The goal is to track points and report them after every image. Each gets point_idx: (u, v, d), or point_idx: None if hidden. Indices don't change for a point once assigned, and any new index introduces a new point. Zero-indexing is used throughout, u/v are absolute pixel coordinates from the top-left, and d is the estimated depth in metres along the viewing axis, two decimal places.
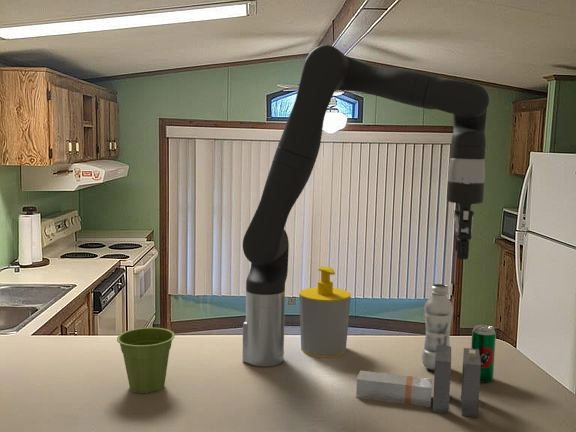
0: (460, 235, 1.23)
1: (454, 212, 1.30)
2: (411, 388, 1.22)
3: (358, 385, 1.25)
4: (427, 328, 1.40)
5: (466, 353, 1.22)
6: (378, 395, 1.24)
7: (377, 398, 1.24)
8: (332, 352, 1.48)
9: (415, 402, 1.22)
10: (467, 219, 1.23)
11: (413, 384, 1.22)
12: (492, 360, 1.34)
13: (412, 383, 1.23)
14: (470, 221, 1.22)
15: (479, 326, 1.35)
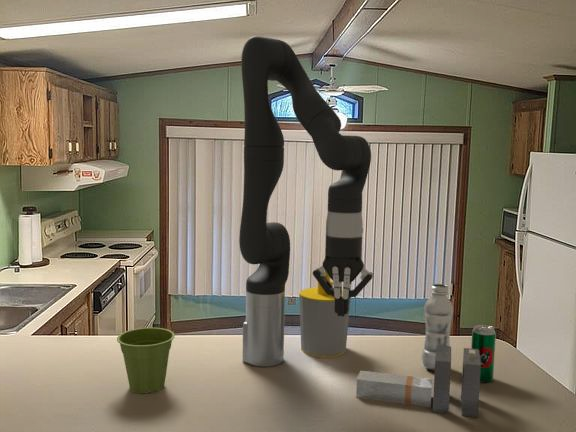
0: None
1: (336, 267, 1.23)
2: (411, 388, 1.22)
3: (358, 385, 1.25)
4: (427, 328, 1.40)
5: (466, 353, 1.22)
6: (378, 395, 1.24)
7: (377, 398, 1.24)
8: (332, 352, 1.48)
9: (415, 402, 1.22)
10: None
11: (413, 384, 1.22)
12: (492, 360, 1.34)
13: (412, 383, 1.23)
14: None
15: (479, 326, 1.35)
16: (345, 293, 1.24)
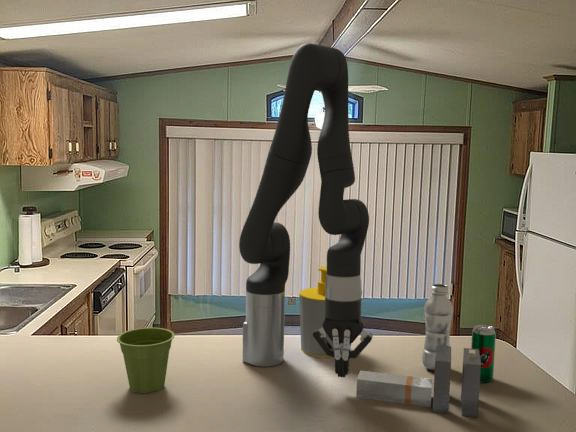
0: None
1: (336, 329, 1.25)
2: (411, 388, 1.22)
3: (358, 385, 1.25)
4: (427, 328, 1.40)
5: (466, 353, 1.22)
6: (378, 395, 1.24)
7: (377, 398, 1.24)
8: None
9: (415, 402, 1.22)
10: None
11: (413, 384, 1.22)
12: (492, 360, 1.34)
13: (412, 383, 1.23)
14: None
15: (479, 326, 1.35)
16: (345, 354, 1.25)
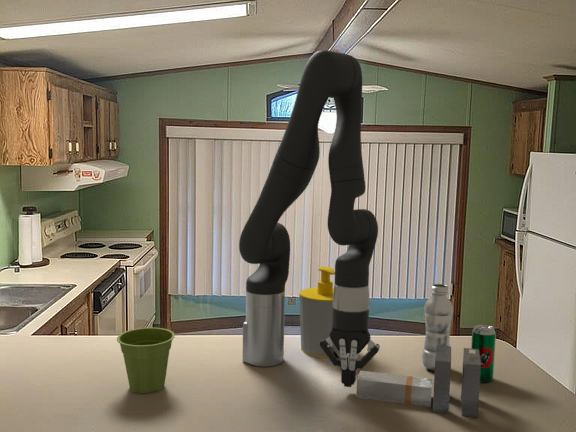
0: None
1: (343, 339, 1.24)
2: (411, 388, 1.22)
3: (358, 385, 1.25)
4: (427, 328, 1.40)
5: (466, 353, 1.22)
6: (378, 395, 1.24)
7: (377, 398, 1.24)
8: None
9: (415, 402, 1.22)
10: None
11: (413, 384, 1.22)
12: (492, 360, 1.34)
13: (412, 383, 1.23)
14: None
15: (479, 326, 1.35)
16: (352, 365, 1.25)
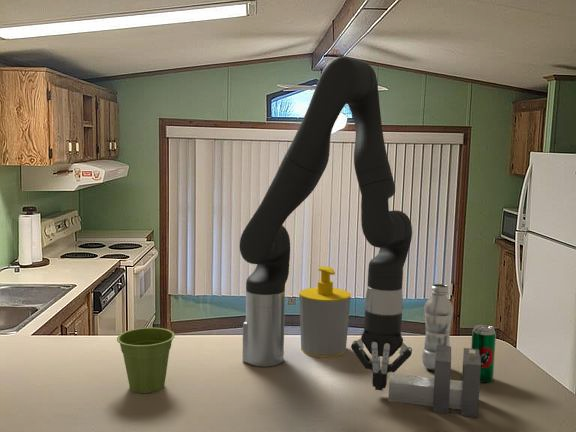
0: None
1: (376, 342, 1.23)
2: None
3: (390, 388, 1.23)
4: (427, 328, 1.40)
5: (466, 353, 1.22)
6: (410, 398, 1.22)
7: (410, 401, 1.22)
8: (332, 352, 1.48)
9: (449, 405, 1.21)
10: None
11: None
12: (492, 360, 1.34)
13: None
14: None
15: (479, 326, 1.35)
16: (384, 368, 1.24)
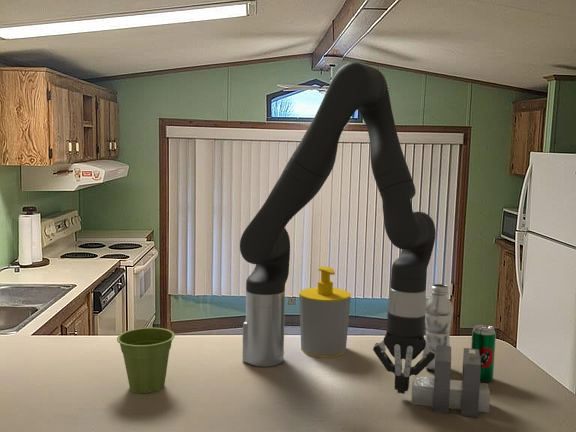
0: None
1: (399, 345, 1.21)
2: None
3: (413, 391, 1.22)
4: (427, 328, 1.40)
5: (466, 353, 1.22)
6: None
7: None
8: (332, 352, 1.48)
9: None
10: None
11: None
12: (492, 360, 1.34)
13: None
14: None
15: (479, 326, 1.35)
16: (406, 371, 1.22)
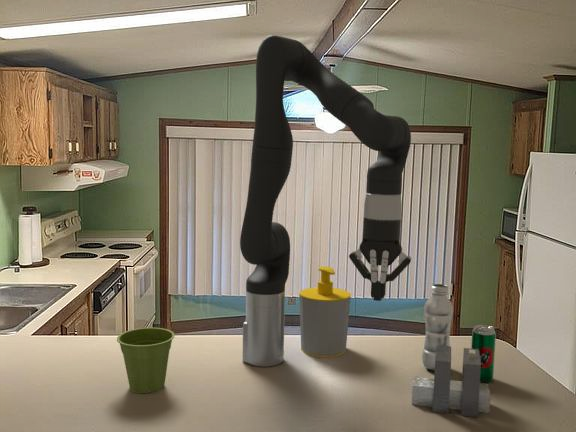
0: None
1: (374, 250, 1.21)
2: None
3: (414, 392, 1.22)
4: (427, 328, 1.40)
5: (466, 353, 1.22)
6: None
7: None
8: (332, 352, 1.48)
9: None
10: None
11: None
12: (492, 360, 1.34)
13: None
14: None
15: (479, 326, 1.35)
16: (382, 277, 1.21)
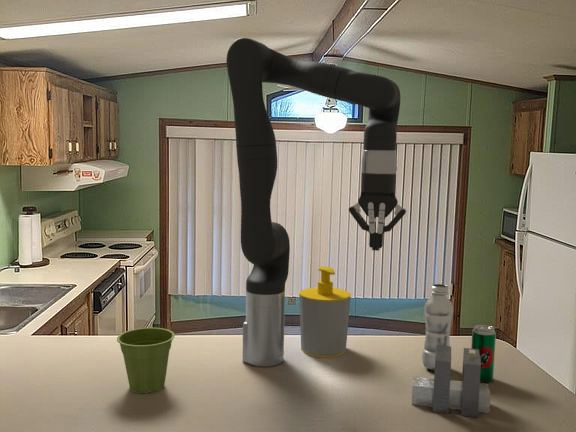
0: None
1: (372, 202, 1.30)
2: None
3: (414, 392, 1.22)
4: (427, 328, 1.40)
5: (466, 353, 1.22)
6: None
7: None
8: (332, 352, 1.48)
9: None
10: None
11: None
12: (492, 360, 1.34)
13: None
14: None
15: (479, 326, 1.35)
16: (380, 228, 1.31)
